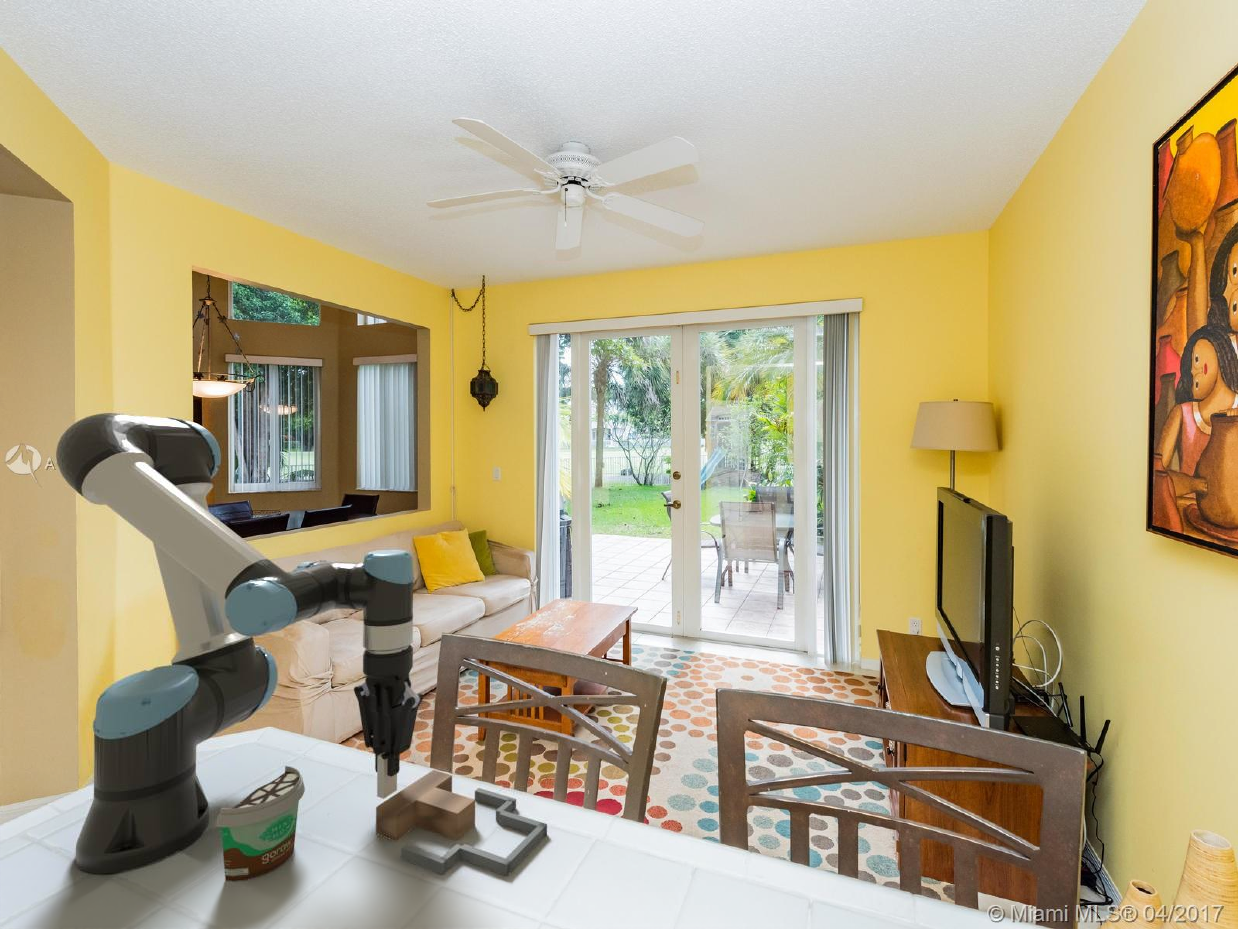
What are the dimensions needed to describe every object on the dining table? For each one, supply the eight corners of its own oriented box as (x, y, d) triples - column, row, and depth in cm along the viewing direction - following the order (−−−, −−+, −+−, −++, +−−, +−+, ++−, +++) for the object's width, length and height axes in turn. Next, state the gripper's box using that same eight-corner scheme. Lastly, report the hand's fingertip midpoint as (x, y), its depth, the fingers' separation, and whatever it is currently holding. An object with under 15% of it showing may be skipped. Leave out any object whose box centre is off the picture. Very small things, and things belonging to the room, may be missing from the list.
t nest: (400, 858, 82) (400, 847, 82) (478, 797, 97) (478, 787, 97) (490, 893, 75) (490, 881, 75) (559, 821, 90) (559, 811, 90)
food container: (256, 896, 74) (257, 817, 74) (215, 888, 75) (216, 811, 76) (323, 836, 86) (324, 768, 86) (287, 831, 88) (288, 764, 88)
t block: (375, 834, 87) (376, 807, 87) (433, 794, 98) (433, 770, 98) (438, 857, 82) (438, 828, 82) (491, 812, 93) (491, 787, 93)
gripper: (435, 646, 95) (434, 791, 95) (377, 635, 101) (376, 773, 100) (400, 659, 88) (399, 816, 88) (340, 647, 94) (338, 795, 94)
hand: (387, 793), depth 94 cm, fingers closed
